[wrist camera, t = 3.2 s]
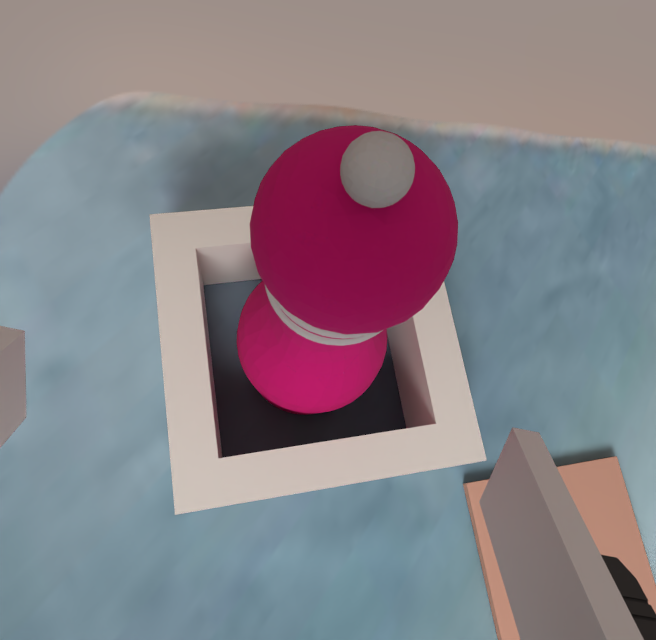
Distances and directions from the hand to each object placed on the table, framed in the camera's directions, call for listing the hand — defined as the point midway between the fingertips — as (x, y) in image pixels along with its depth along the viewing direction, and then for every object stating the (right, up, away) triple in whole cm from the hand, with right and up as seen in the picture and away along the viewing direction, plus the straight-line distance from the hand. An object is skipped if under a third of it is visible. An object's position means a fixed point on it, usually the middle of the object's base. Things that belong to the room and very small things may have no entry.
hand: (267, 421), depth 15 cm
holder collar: (0, +1, +16) cm, 16 cm away
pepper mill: (0, 0, +16) cm, 16 cm away
